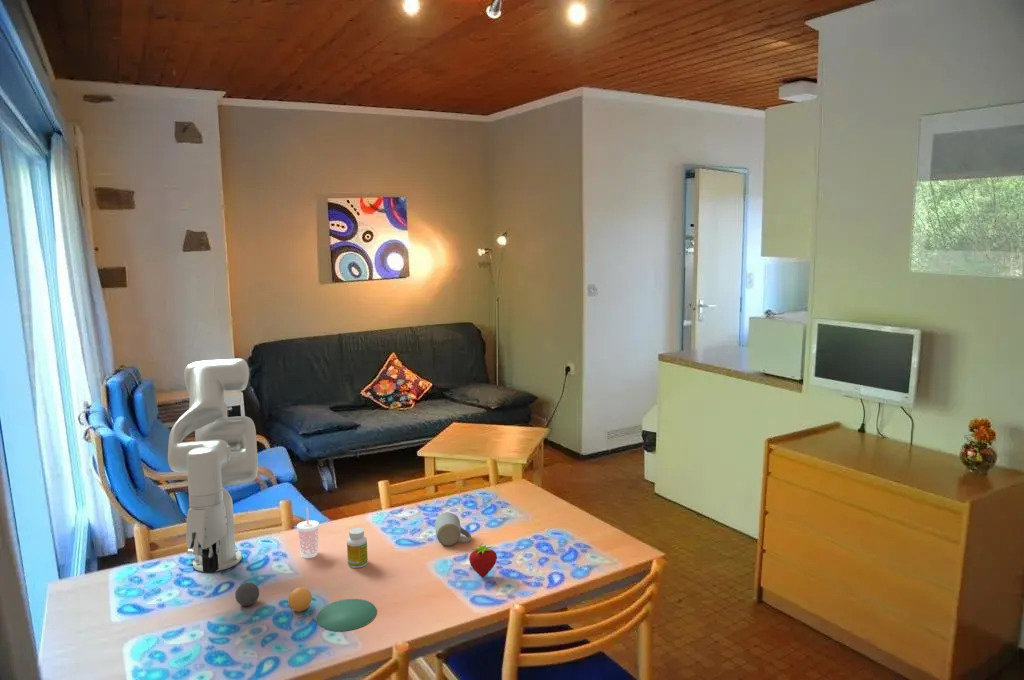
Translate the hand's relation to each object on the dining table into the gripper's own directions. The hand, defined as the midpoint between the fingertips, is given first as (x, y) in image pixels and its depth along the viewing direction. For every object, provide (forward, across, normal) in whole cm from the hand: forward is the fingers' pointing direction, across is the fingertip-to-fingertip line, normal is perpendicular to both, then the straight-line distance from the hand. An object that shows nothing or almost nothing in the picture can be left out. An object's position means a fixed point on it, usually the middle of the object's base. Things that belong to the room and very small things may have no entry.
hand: (210, 570), depth 167 cm
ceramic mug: (+8, -45, +49) cm, 67 cm away
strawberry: (+9, -25, +63) cm, 68 cm away
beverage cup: (+8, -29, +11) cm, 32 cm away
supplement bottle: (+8, -26, +27) cm, 38 cm away
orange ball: (+6, -1, +23) cm, 24 cm away
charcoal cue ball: (+6, -1, +9) cm, 11 cm away
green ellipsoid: (+9, -1, +35) cm, 36 cm away
